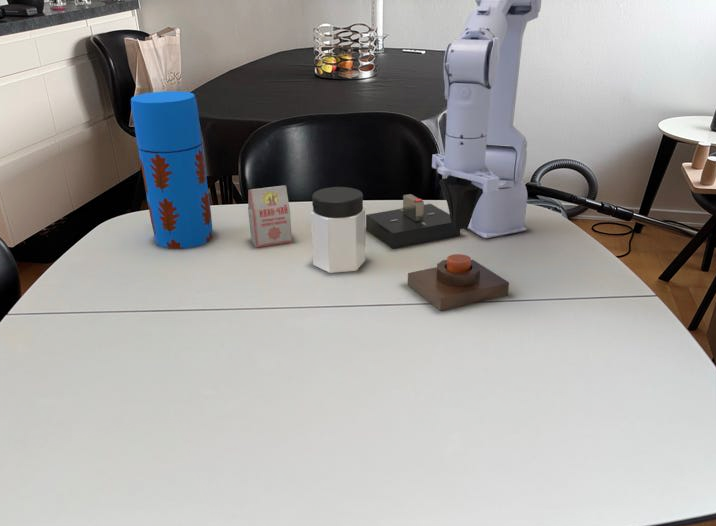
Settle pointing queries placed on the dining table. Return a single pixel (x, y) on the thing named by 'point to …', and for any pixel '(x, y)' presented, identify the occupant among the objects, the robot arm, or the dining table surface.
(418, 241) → the panel
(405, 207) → the knob
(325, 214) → the jar
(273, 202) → the tea bag
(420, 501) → the dining table surface
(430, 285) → the button block
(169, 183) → the thermos
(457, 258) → the button
